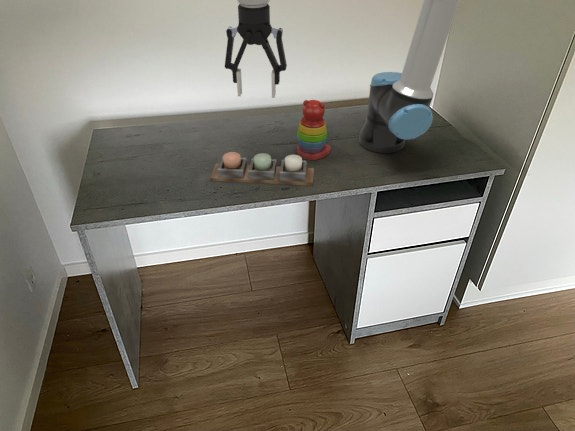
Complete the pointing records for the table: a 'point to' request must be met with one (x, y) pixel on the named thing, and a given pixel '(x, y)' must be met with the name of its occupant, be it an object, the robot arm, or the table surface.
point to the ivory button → (293, 163)
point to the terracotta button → (232, 160)
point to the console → (263, 174)
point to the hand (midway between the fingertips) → (256, 94)
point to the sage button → (262, 162)
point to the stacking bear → (312, 132)
